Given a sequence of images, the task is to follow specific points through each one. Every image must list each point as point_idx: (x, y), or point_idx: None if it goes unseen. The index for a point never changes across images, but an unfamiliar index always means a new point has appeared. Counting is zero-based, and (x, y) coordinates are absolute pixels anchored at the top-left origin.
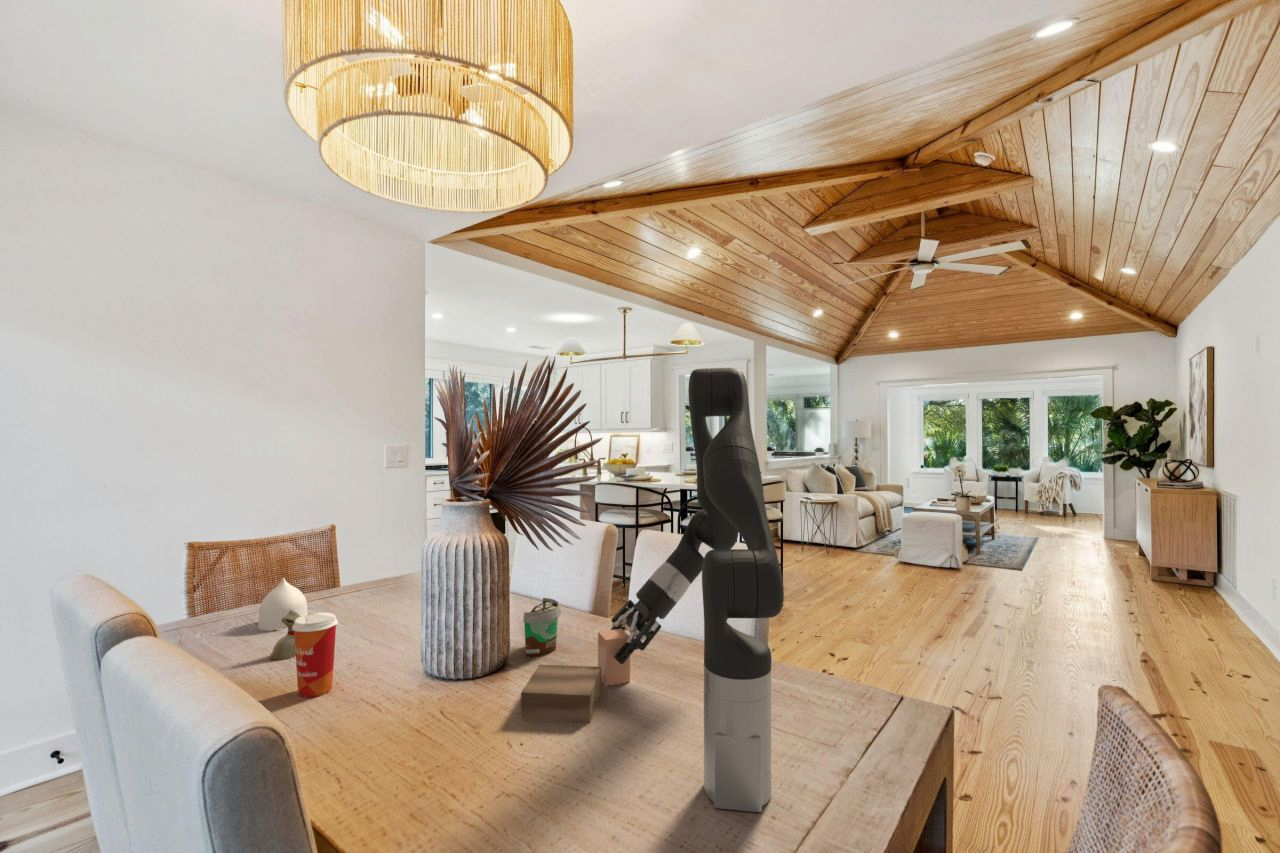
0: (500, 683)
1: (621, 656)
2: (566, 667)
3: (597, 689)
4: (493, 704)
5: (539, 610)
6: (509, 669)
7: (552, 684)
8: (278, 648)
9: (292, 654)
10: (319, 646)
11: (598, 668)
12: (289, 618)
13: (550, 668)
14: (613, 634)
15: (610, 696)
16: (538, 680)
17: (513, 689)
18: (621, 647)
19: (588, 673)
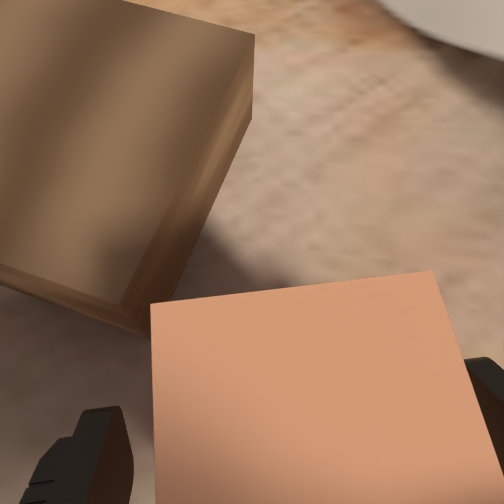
0: (322, 25)
1: (40, 466)
2: (181, 128)
3: (30, 286)
4: (176, 7)
5: None
6: (436, 50)
7: (8, 58)
8: None
9: None
10: None
11: (99, 284)
12: None
13: (192, 67)
14: (315, 438)
15: (80, 374)
16: (77, 19)
17: (267, 52)
18: (86, 492)
19: (50, 217)
